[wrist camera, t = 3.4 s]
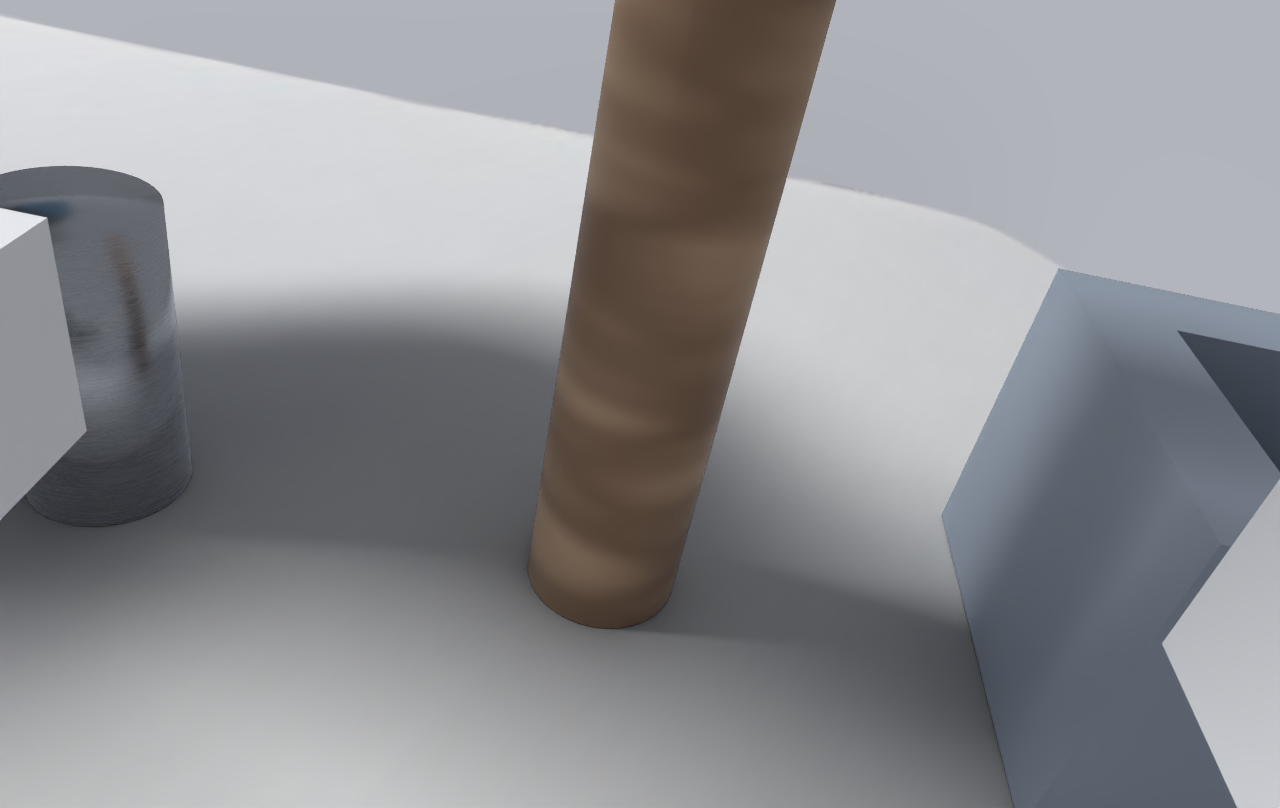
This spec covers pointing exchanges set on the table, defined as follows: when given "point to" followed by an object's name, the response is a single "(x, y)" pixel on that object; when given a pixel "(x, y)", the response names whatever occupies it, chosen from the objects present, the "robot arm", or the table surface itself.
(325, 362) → the table surface
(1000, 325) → the table surface
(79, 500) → the short steel pin
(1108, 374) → the collar block
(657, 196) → the long walnut pin
